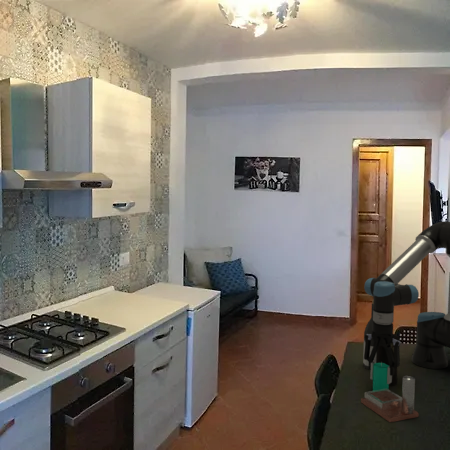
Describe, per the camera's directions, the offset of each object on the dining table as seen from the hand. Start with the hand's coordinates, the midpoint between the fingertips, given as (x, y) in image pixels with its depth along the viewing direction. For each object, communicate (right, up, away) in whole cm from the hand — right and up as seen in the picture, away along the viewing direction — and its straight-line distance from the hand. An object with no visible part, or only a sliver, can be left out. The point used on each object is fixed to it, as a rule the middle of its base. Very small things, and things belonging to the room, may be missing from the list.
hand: (380, 380), depth 186 cm
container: (+5, -4, +10) cm, 12 cm away
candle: (0, -5, 0) cm, 5 cm away
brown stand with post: (-2, -6, -15) cm, 16 cm away
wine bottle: (+5, -3, +25) cm, 26 cm away
